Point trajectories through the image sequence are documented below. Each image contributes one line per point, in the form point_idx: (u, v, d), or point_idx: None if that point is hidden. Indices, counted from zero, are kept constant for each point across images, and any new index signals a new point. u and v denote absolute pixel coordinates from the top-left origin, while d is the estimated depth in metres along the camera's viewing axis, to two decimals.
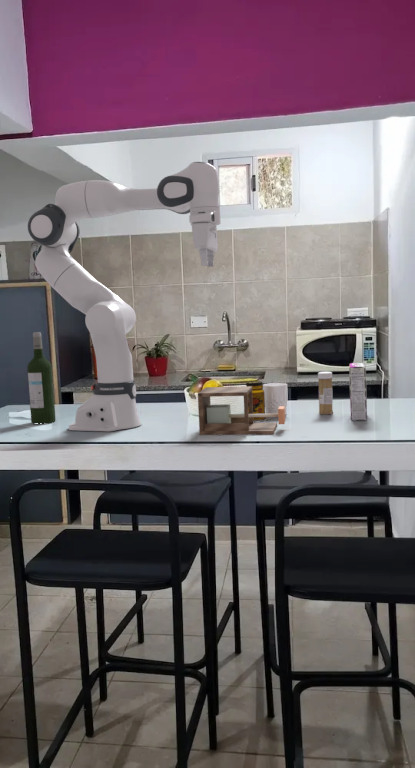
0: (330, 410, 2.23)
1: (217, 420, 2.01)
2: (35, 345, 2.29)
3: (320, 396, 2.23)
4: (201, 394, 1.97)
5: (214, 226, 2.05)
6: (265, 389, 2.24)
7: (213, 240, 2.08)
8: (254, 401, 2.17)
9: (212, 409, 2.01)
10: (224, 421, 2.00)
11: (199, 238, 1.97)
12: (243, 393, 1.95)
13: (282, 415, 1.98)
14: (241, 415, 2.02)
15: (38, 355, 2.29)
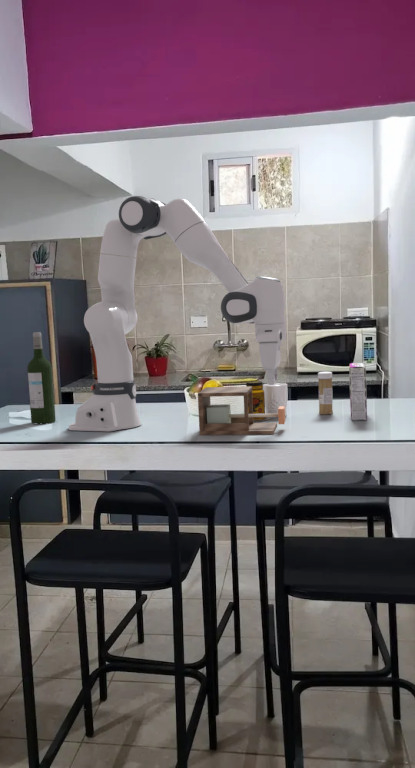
0: (330, 410, 2.23)
1: (217, 420, 2.01)
2: (35, 345, 2.29)
3: (320, 396, 2.23)
4: (201, 394, 1.97)
5: (280, 342, 1.96)
6: (265, 389, 2.24)
7: (278, 355, 2.00)
8: (254, 401, 2.17)
9: (212, 409, 2.01)
10: (224, 421, 2.00)
11: (267, 359, 1.89)
12: (243, 393, 1.95)
13: (282, 415, 1.98)
14: (241, 415, 2.02)
15: (38, 355, 2.29)
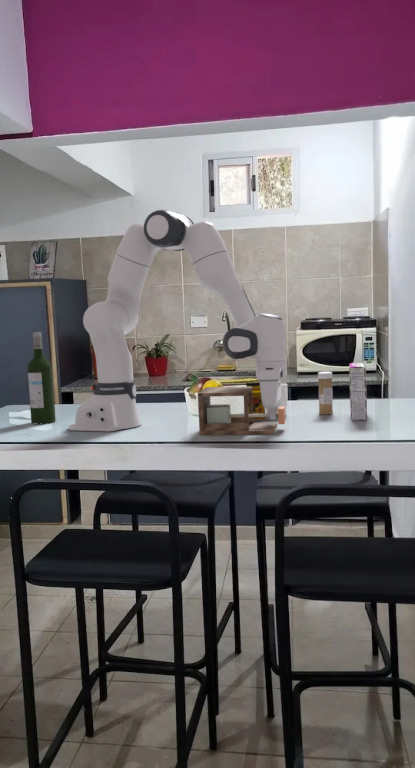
0: (330, 410, 2.23)
1: (217, 420, 2.01)
2: (35, 345, 2.29)
3: (320, 396, 2.23)
4: (201, 394, 1.97)
5: (281, 379, 1.98)
6: None
7: None
8: (254, 401, 2.17)
9: (212, 409, 2.01)
10: (224, 421, 2.00)
11: (268, 398, 1.90)
12: (243, 393, 1.95)
13: (282, 415, 1.98)
14: (241, 415, 2.02)
15: (38, 355, 2.29)
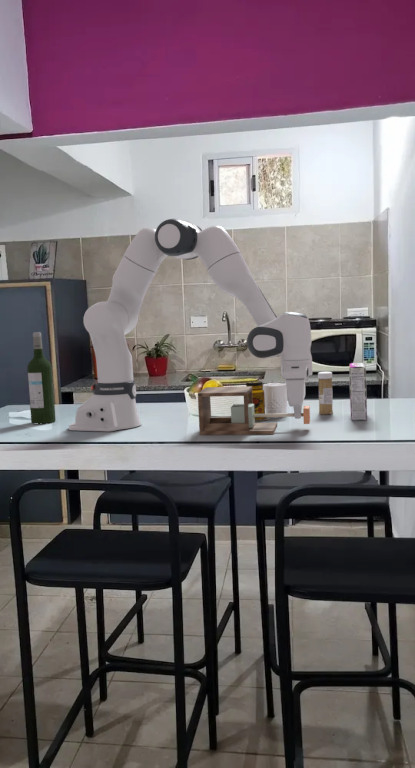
0: (330, 410, 2.23)
1: (241, 420, 1.99)
2: (35, 345, 2.29)
3: (320, 396, 2.23)
4: (201, 394, 1.97)
5: (306, 378, 1.96)
6: (265, 389, 2.24)
7: None
8: (254, 401, 2.17)
9: (236, 409, 1.99)
10: None
11: (294, 396, 1.89)
12: (243, 393, 1.95)
13: (307, 415, 1.96)
14: (266, 414, 2.01)
15: (38, 355, 2.29)
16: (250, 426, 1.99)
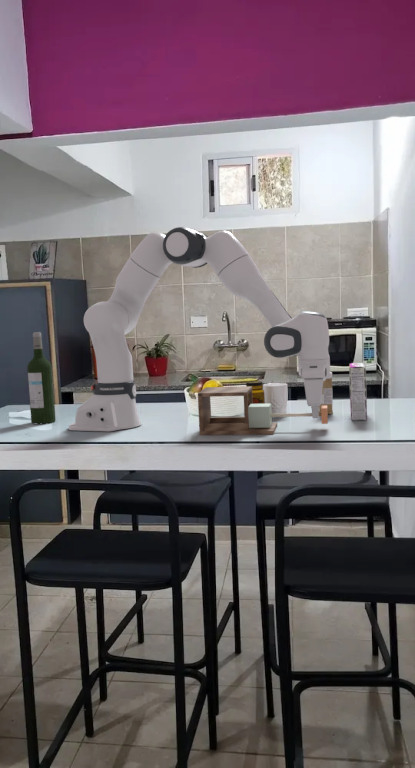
0: (330, 410, 2.23)
1: (258, 420, 1.99)
2: (35, 345, 2.29)
3: None
4: (201, 394, 1.97)
5: (324, 377, 1.95)
6: (265, 389, 2.24)
7: None
8: (254, 401, 2.17)
9: (254, 408, 1.98)
10: (266, 420, 1.98)
11: (313, 396, 1.88)
12: (243, 393, 1.95)
13: (325, 414, 1.95)
14: (283, 414, 2.00)
15: (38, 355, 2.29)
16: (267, 426, 1.98)
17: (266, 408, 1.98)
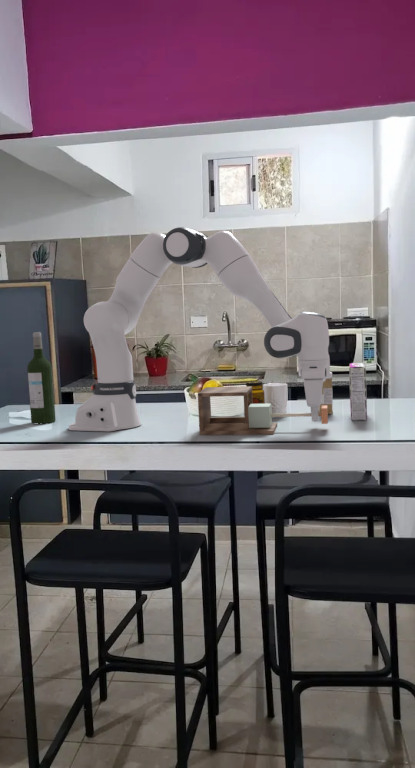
0: (330, 410, 2.23)
1: (258, 419, 1.99)
2: (35, 345, 2.29)
3: None
4: (201, 394, 1.97)
5: None
6: (265, 389, 2.24)
7: None
8: (254, 401, 2.17)
9: (254, 408, 1.98)
10: (266, 420, 1.98)
11: (313, 397, 1.88)
12: (243, 393, 1.95)
13: (325, 414, 1.95)
14: (283, 414, 2.00)
15: (38, 355, 2.29)
16: (268, 426, 1.98)
17: (266, 408, 1.98)
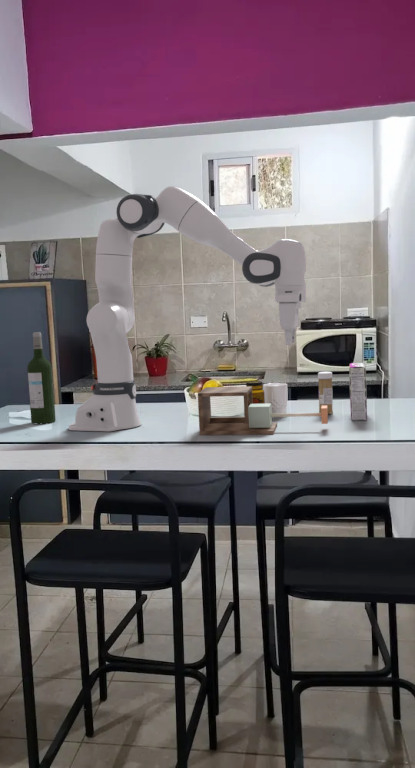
0: (330, 410, 2.23)
1: (258, 419, 1.99)
2: (35, 345, 2.29)
3: (320, 396, 2.23)
4: (201, 394, 1.97)
5: (299, 304, 2.01)
6: (265, 389, 2.24)
7: None
8: (254, 401, 2.17)
9: (254, 408, 1.98)
10: (266, 420, 1.98)
11: (286, 319, 1.94)
12: (243, 393, 1.95)
13: (325, 414, 1.95)
14: (283, 414, 2.00)
15: (38, 355, 2.29)
16: (268, 426, 1.98)
17: (266, 408, 1.98)
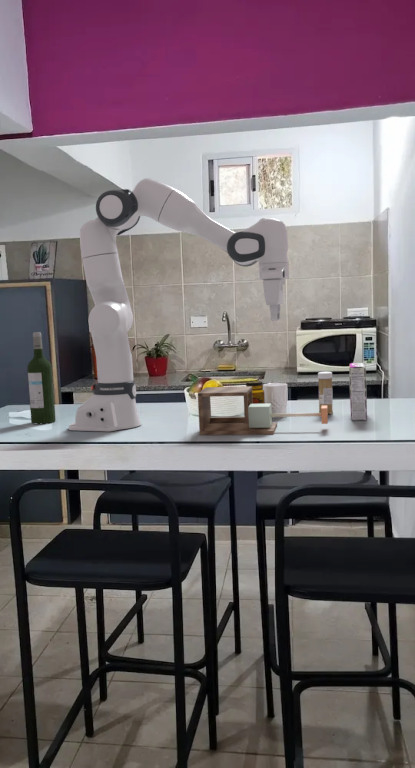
0: (330, 410, 2.23)
1: (258, 419, 1.99)
2: (35, 345, 2.29)
3: (320, 396, 2.23)
4: (201, 394, 1.97)
5: (283, 281, 2.07)
6: (265, 389, 2.24)
7: (281, 294, 2.11)
8: (254, 401, 2.17)
9: (254, 408, 1.98)
10: (266, 420, 1.98)
11: (271, 295, 1.99)
12: (243, 393, 1.95)
13: (325, 414, 1.95)
14: (283, 414, 2.00)
15: (38, 355, 2.29)
16: (268, 426, 1.98)
17: (266, 408, 1.98)
